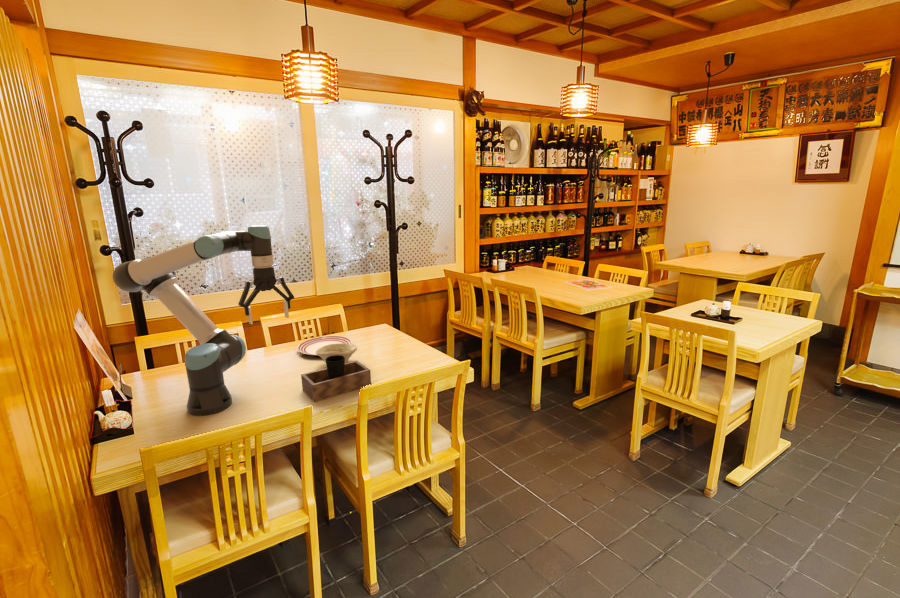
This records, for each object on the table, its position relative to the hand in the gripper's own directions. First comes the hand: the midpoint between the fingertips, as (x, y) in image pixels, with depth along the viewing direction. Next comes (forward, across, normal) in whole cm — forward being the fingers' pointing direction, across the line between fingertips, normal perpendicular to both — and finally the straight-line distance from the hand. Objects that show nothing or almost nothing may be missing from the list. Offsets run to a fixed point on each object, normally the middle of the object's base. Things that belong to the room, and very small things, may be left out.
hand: (269, 320), depth 174 cm
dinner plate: (+31, +35, +37) cm, 60 cm away
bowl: (+31, +32, +14) cm, 47 cm away
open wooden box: (+31, +21, -11) cm, 39 cm away
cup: (+30, +21, -11) cm, 38 cm away
